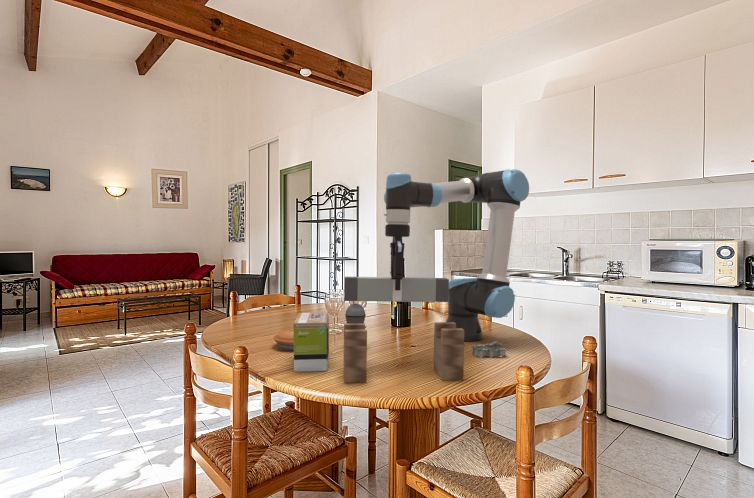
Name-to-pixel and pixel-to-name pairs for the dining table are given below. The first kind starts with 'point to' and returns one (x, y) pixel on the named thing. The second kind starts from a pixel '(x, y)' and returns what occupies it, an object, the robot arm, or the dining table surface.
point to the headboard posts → (445, 351)
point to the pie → (285, 340)
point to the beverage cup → (355, 314)
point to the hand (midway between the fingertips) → (395, 299)
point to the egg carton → (489, 349)
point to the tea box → (311, 342)
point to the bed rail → (384, 289)
